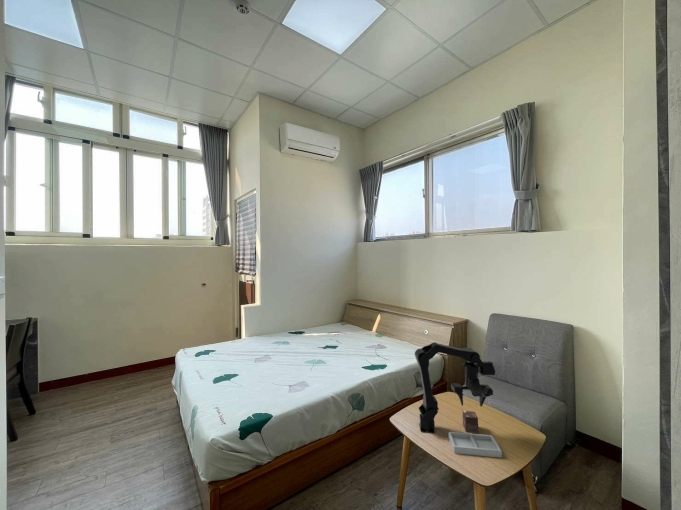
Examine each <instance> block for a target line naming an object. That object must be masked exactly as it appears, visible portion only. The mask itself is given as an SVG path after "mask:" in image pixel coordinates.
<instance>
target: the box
mask: <svg viewBox="0 0 681 510" xmlns="http://www.w3.org/2000/svg"><path fill="white" fill-rule="evenodd" d="M462 425H463V428H464V431H465V433H475V434H478V433H479V416H477V413H476V412H475V411H469V410H462Z"/></svg>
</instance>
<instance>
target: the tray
mask: <svg viewBox="0 0 681 510" xmlns="http://www.w3.org/2000/svg"><path fill="white" fill-rule="evenodd" d="M447 433H448V434H447V436H448V438H447V439H448V440H449V444H450V446H451V448H452V451H453V454H458V455H459V454H460V455H469V456H470V455H471V456H482V457H492V458H493V457H494V458H502V456H503V453H502V452H503V451H502V449H501V448H500V446H499V445H498V443H497V441H496V439H495V438H494V437H493V435H492V434H482V433H480V434H478V433H471V432H457V431H447Z"/></svg>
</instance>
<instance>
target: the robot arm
mask: <svg viewBox="0 0 681 510" xmlns="http://www.w3.org/2000/svg"><path fill="white" fill-rule="evenodd" d="M438 353H439V354H444V355H447V356H453V357H458V358H460V359H463V360H464V361H462V362H461V363H460V364H461V365H462V366H463V367H465V374H464V377H465V381H464V385H461V384H460V383H459V382H452V383H451V384H450V388H451V390H452V391H453V392H454V393H455V395H456V394H457V397H458V399H459V403H460V404H461V406H464V391H470V393H471V395H472V396H473V397H479V406H480V408H482V407H483V404H484V402H485V401H486V399H487V397H488V398H489V397H491V396H494V389H493V388H492V387H491V386H489V384H481V383H480V379H479V375H480V376H486V377H488V376H489V377H494V376H495V374H496V370H495V367H494V363H493V361H492V360H491V361H490V360H489V361H483V360H482V359H481V356H480V353H478V352H477V351H476V350H474V349H473V348H471V347H460V348H459V347H457V346H456V347H455V346H452V345H451V346H450V345H447V344H443V343H438V342H431V343H430V344H427V345H425V346H423V347H420V348H418V349H415V351H414V357H415V359H416V363H417V365H418V367H419V372H420V379H421V385H422V392H423V395H422V396H423V397H422V403H421V405H420V406H419V407H418V411H419V423H418V425H419V429H420V432H421V433H432V434H434V433H435V418H436V416H437V415H438V413H439V410H440V408H439V404H438V403H439V402H438V400H437V398H436V396H435V395H433V392H432V384H431V378H430V373H429V367H430V360H432V359H433V358H434V357H435V356H436V355H437V354H438Z"/></svg>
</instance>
